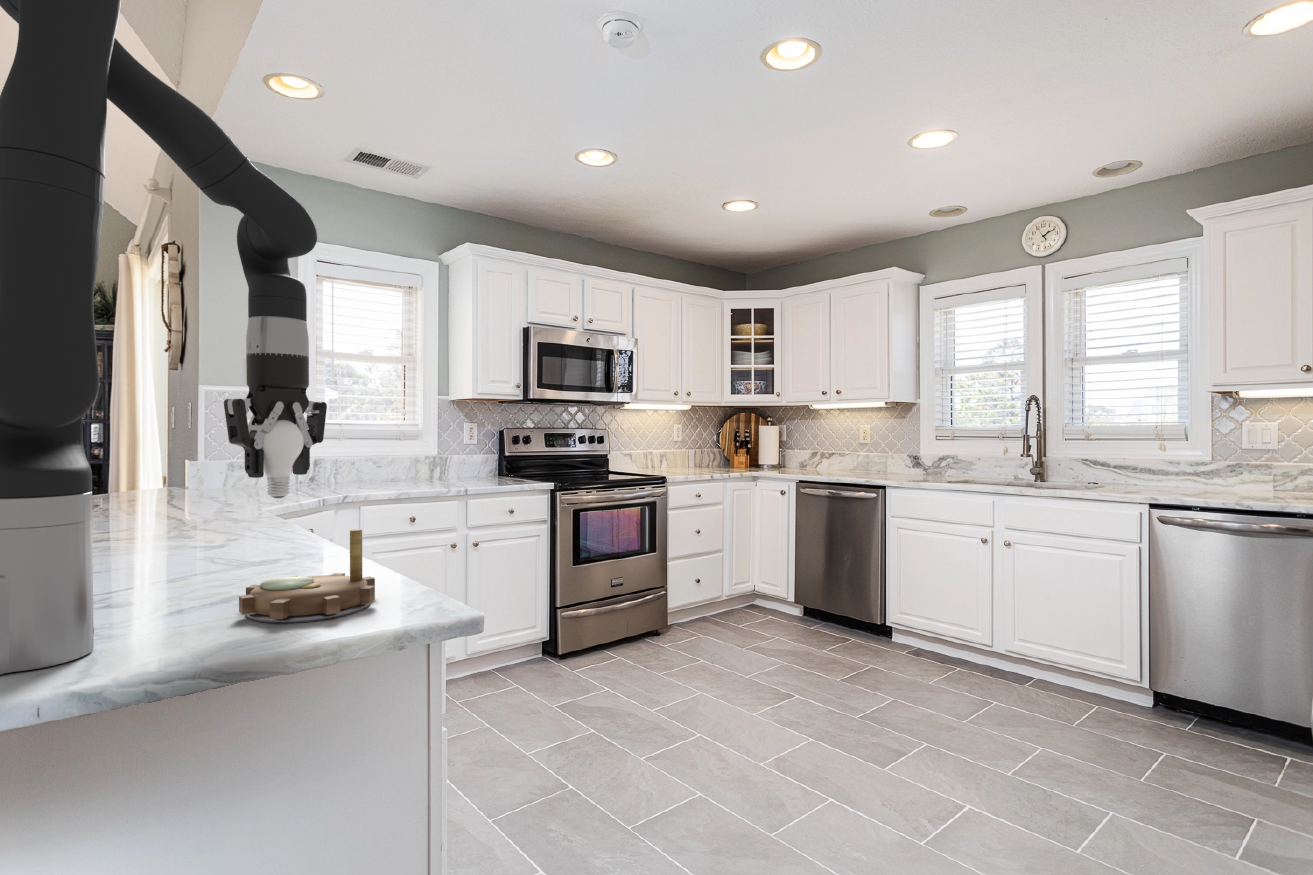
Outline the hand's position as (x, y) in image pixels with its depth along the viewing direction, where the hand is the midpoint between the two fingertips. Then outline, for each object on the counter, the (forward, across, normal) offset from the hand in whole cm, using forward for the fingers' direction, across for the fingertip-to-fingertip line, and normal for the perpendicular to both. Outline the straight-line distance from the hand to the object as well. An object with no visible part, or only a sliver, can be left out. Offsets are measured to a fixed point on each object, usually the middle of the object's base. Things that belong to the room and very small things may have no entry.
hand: (278, 475), depth 94 cm
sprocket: (+18, 0, -6) cm, 19 cm away
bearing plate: (+18, 0, -6) cm, 19 cm away
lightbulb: (+3, 0, 0) cm, 3 cm away
